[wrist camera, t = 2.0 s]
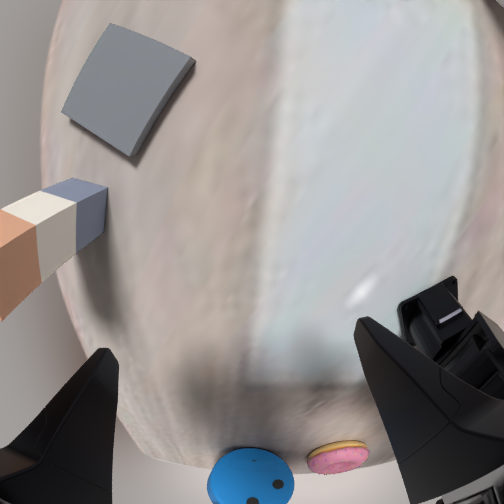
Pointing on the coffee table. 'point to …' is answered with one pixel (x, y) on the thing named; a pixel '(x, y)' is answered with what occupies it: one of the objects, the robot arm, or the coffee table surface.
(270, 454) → the alarm clock
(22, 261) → the brick stack
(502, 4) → the honey pot
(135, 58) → the baseplate
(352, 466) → the doughnut
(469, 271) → the coffee table surface
